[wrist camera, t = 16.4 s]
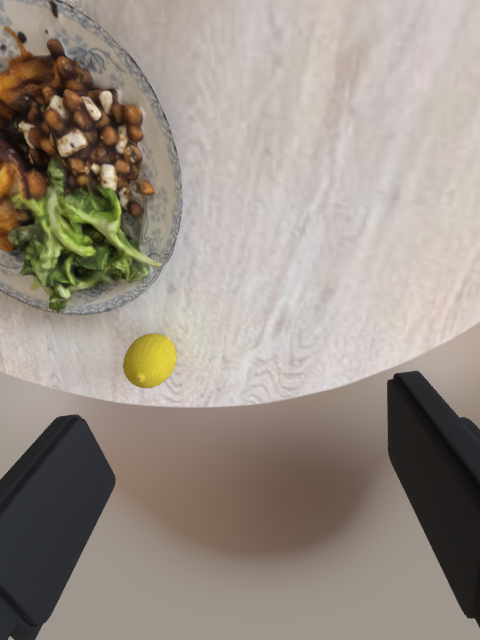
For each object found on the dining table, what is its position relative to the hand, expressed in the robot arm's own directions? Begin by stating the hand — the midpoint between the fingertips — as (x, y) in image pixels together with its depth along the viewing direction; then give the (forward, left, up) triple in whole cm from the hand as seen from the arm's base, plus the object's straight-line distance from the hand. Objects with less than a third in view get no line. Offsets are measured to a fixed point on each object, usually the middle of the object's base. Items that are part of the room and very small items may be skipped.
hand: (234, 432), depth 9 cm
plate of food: (-12, -18, -26) cm, 34 cm away
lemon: (+8, -13, -26) cm, 30 cm away
